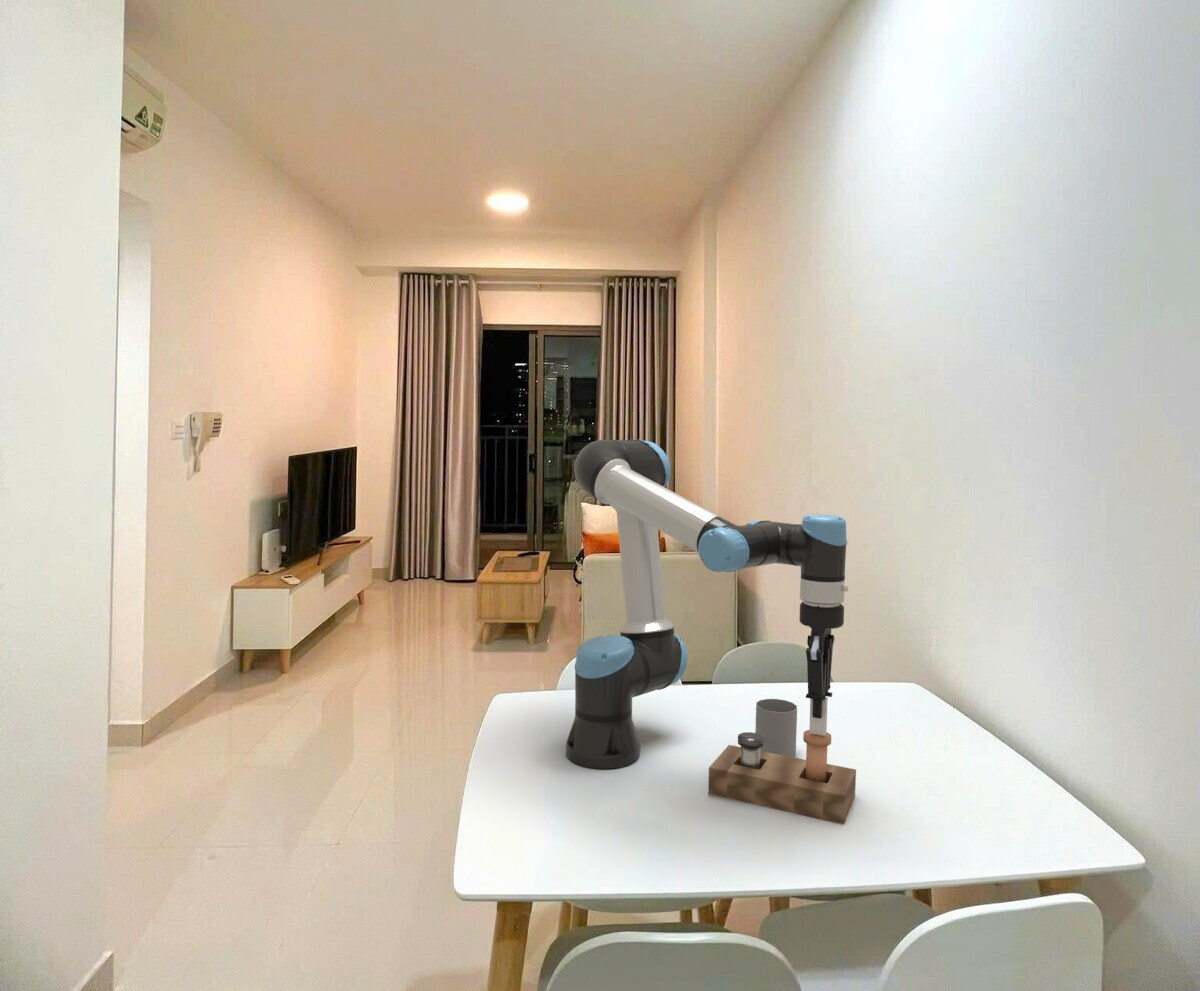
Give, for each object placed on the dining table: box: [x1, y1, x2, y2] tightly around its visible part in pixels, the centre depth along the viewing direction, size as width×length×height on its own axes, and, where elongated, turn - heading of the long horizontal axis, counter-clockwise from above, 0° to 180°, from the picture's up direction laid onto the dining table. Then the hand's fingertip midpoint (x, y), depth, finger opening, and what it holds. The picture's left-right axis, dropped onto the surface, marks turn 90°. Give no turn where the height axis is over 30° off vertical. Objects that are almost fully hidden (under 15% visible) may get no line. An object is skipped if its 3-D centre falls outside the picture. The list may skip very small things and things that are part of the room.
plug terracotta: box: [802, 729, 832, 783], centre depth 140 cm, size 5×5×9 cm
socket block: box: [707, 744, 857, 825], centre depth 143 cm, size 24×12×5 cm, turn 63°
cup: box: [754, 698, 798, 758], centre depth 163 cm, size 8×8×10 cm
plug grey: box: [737, 731, 764, 770], centre depth 146 cm, size 5×5×9 cm
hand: (817, 733), depth 140 cm, fingers closed
